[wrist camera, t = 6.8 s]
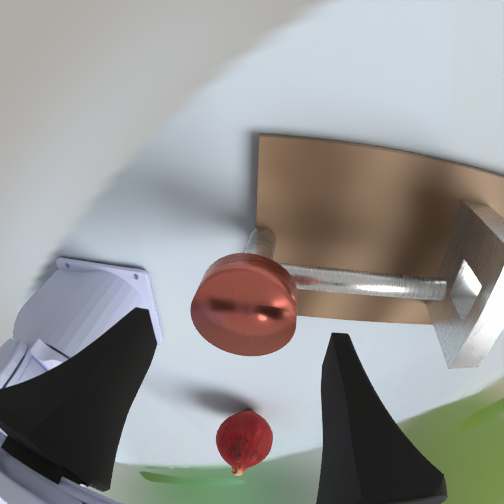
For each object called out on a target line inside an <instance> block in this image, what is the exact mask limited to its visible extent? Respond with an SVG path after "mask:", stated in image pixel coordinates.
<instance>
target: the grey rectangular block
mask: <svg viewBox="0 0 504 504" xmlns="http://www.w3.org/2000/svg"><path fill="white" fill-rule="evenodd" d="M436 278H443V279H445V281H446V285H447V289H446V294H445V297H444V299H443V300H426V302H425V305H426V308H427V310H428V313H429V315H430V318H431V320H432V323H433V326H434V328H435V331H436V334H437V337H438V340H439V342H440V345H441V348H442V351H443V354H444V357H445V360H446V363H447V366H448V369H451V368H470V367H478V366H479V365H480V363H481V362H482V360H483V359H484V357H485V356H486V354H487V353H488V352H489V350H490V349H491V347H492V345H493V344H494V342H495V341H496V339H497V338H498V336H499V334H500V333H501V331H502V330H503V328H504V219H503V218H502V217H501V216H500V215H499V214H498V213H497V212H496V211H495V210H494V209H493V208H492V207H491V206H489V205H485V204H480V203H476V202H471V201H466V200H462V199H461V202H460V206H459V209H458V213H457V216H456V220H455V223H454V226H453V229H452V233H451V236H450V239H449V242H448V245H447V248H446V251H445V253H444V256H443V259H442V262H441V265H440V267H439V270H438V273H437V275H436Z"/></svg>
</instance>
